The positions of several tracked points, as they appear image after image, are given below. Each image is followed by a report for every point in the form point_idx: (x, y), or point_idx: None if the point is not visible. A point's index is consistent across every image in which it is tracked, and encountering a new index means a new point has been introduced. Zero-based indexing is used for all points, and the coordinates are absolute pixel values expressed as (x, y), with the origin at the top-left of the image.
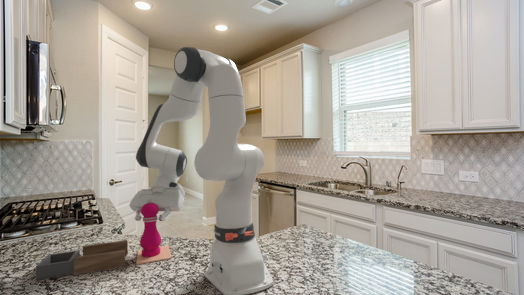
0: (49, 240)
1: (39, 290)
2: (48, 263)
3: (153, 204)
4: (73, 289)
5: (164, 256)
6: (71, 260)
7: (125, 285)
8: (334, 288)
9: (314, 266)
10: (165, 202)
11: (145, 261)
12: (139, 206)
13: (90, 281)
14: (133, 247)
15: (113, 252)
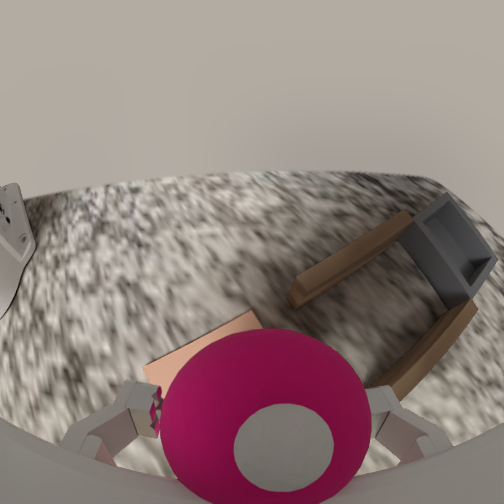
0: None
1: (378, 173)
2: (471, 248)
3: (194, 415)
4: (314, 174)
5: (173, 378)
6: (416, 222)
7: (201, 191)
8: None
9: None
10: (77, 501)
11: (226, 328)
12: (437, 454)
13: (310, 204)
14: (380, 465)
15: (330, 259)
